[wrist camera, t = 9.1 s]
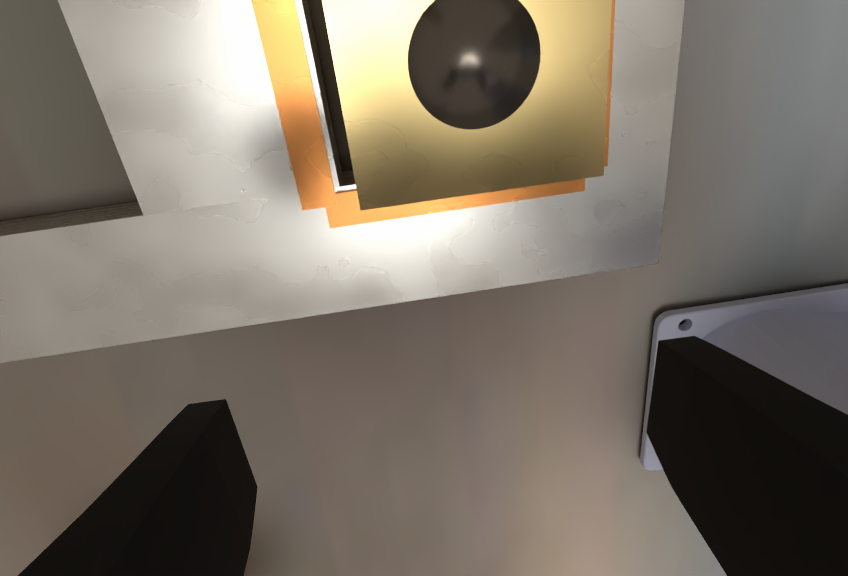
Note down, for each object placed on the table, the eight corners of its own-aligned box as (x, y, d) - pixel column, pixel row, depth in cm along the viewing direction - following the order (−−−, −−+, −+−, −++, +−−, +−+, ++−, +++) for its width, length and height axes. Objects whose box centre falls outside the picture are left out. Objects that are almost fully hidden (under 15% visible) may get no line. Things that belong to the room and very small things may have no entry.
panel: (686, -369, 12) (730, -420, 10) (637, 245, 18) (659, 265, 17) (-485, -222, 11) (-610, -255, 10) (-80, 352, 18) (-118, 382, 17)
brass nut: (522, -81, 14) (620, -131, 8) (527, 118, 16) (604, 177, 11) (329, -56, 14) (305, -90, 8) (362, 141, 16) (360, 212, 11)
